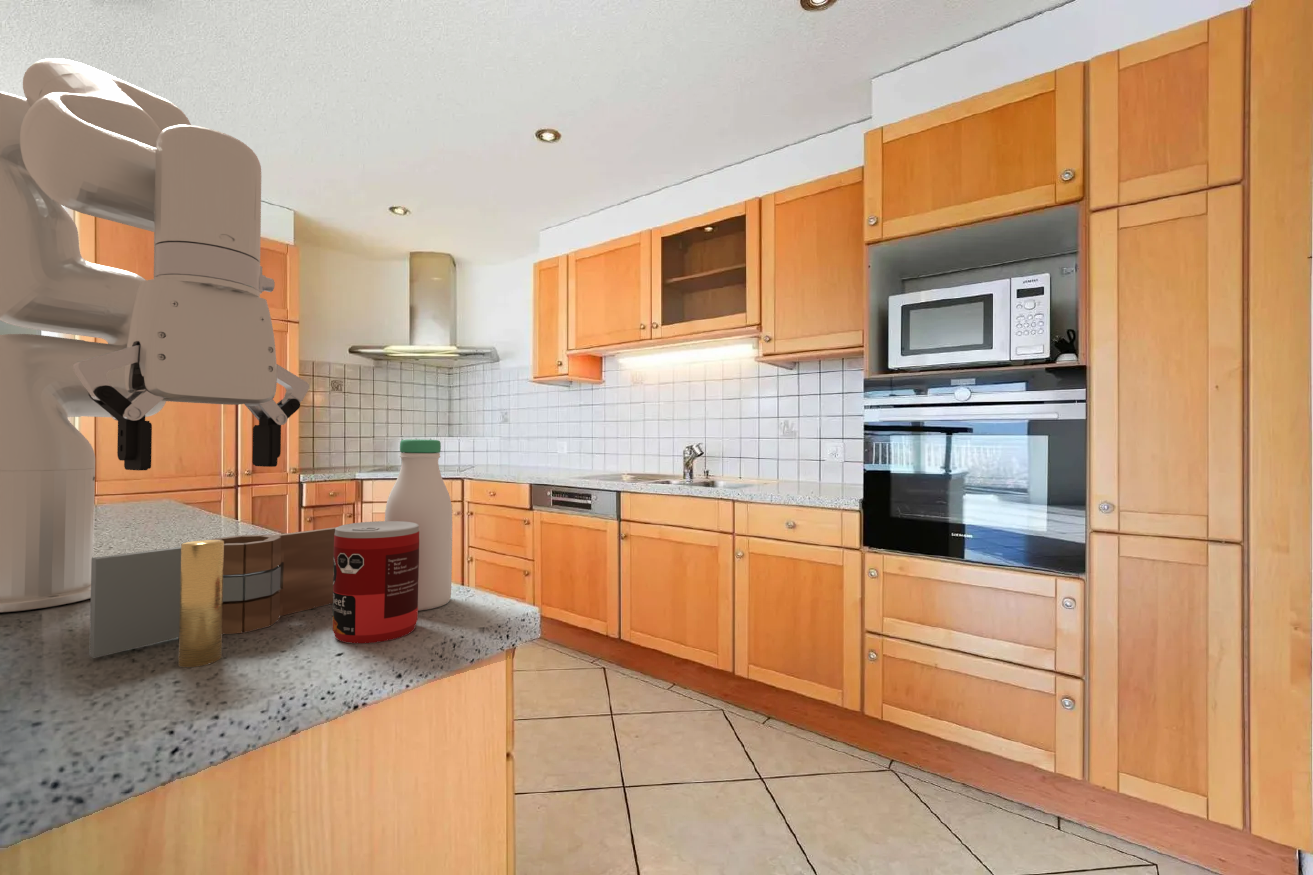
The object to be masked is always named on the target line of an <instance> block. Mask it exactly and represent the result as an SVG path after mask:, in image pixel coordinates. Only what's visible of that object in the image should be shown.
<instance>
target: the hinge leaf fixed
mask: <svg viewBox="0 0 1313 875" xmlns="http://www.w3.org/2000/svg"><path fill="white" fill-rule="evenodd" d="M337 527H338V526H336V527H335V526H334V527H327V528H321V529H320V528H319V529H311V530H305V531H296V532H289V533H281V534H279V533H278V534H273V535H272V534H243V535H241V534H240V535H232V536H225V537H223V536H222V537H217V538H212V539H210V540H222V541H224V560H223V575H233V574H244V573H245V574H247V573H253V572H259V571H265V570H271V569H273V568H275V567H277V566H280V567H281V574H280V589H279V590H278V591H276V592H275V593H273V594H271V595H268V596H263V597H258V598H254V599H249V600H243V601H225V602H223V606H222V635H233V634H242V633H249V632H252V631H256V630H261V629H265V628H268V627H270V626H273V625H274V624H275V623H277V622H278V621H279V620H281V619H280V617H282V616H287V615H291V614H294V613H299V612H303V611H307V610H311V609H315V608H320V607H323V606H328V605H333V563H334V534H335V528H337Z"/></svg>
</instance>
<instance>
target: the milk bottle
mask: <svg viewBox="0 0 1313 875" xmlns="http://www.w3.org/2000/svg"><path fill="white" fill-rule="evenodd" d="M441 443H442V442H441V440H439V439H418V438H416V439H412V438H411V439H401V440H400V442H399V452H400V455H399V458H401V466H400V470H399V473H398V475H397V478H396V481H395V483H394V484H393V486H392V488H391V490H390V492H389V496H388V497H387V501H386V503H385V504H386V505H385V511H384V521H403V522H412V523H416V524H418V525H419V578H418V612H419V611H426V610H432V609H437V608H439V607H442V606H445V605H447V604H448V603H449V602H450V599H451V597H452V573H453V572H452V570H453V569H452V568H453V506H452V501H451V496H450V494H449V493H450V492H449V491H448V490H449V489H448V488H447V486H446V484H445V482H444V480H443V476H442V473H441V470H440V466H439V459H440V458H441V449H442V448H441V447H442V445H441Z"/></svg>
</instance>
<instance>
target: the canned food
mask: <svg viewBox="0 0 1313 875" xmlns="http://www.w3.org/2000/svg"><path fill="white" fill-rule="evenodd" d="M336 527H337V528H335V534H334V563H333V604H332V631H333V632H332V633H333V635H334V637H335V639H337V640H338V641H340V642H343V643H346V644H347V643H349V644H375V643H383V642H389V641H393V640H396V639H399V638H402V637H405V636H407V635H409V634H410V633H412V632H413V631H414V630H415V629H416V626H417V622H418V618H419V617H418V612H419V611H418V578H419V525H418V524H416V523H412V522H403V521H385V520H383V521H381V520H379V521H376V520H375V521H364V522H363V521H362V522H353V523H347V524H342V525H339V526H336Z"/></svg>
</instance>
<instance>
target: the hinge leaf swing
mask: <svg viewBox="0 0 1313 875" xmlns="http://www.w3.org/2000/svg"><path fill="white" fill-rule="evenodd" d="M280 574H281V567H280V566H277V567H275V568H273V569H271V570H265V571H259V572H253V573H247V574H245V573H244V574H233V575H223V602H225V601H243V600H249V599H254V598H258V597H263V596H268V595H271V594H273V593H275V592H276V591H278V590H279V589H280ZM180 577H181V546H176V547H169V548H167V547H166V548H159V549H151V550H144V551H135V552H128V553H121V554H120V553H118V554H113V555H104V556H97V557H96V556H95V557H93V558H92V562H91V598H90V610H89V611H90V612H89V615H90V616H89V617H90V619H89V653H88V656H89V657H91V658H93V659H95V658H98V657H103V656H107V655H112V654H116V653H120V652H124V651H129V650H133V649H138V648H141V647H144V646H151V645H153V644H157V643H158V644H159V643H161V642H166V641H170V640H173V639H174V640H175V639H179V622H180Z"/></svg>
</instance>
